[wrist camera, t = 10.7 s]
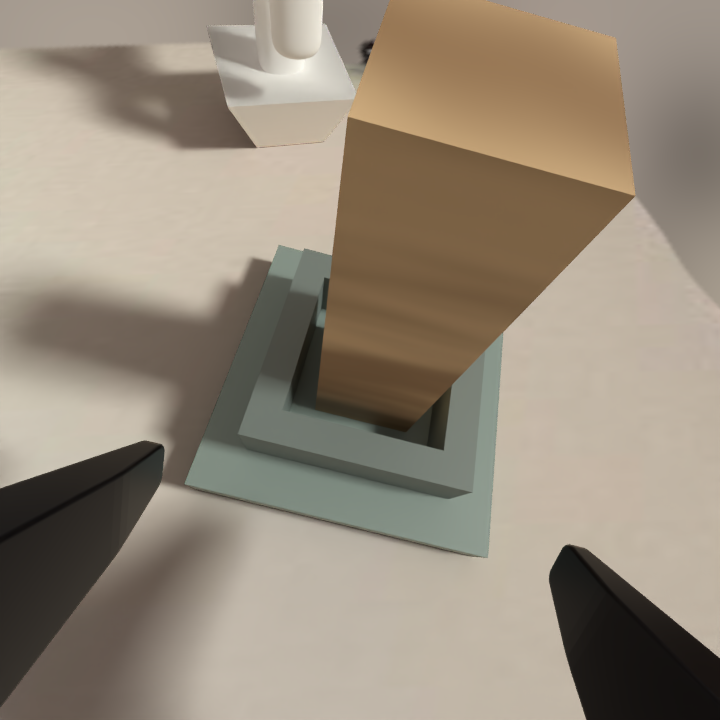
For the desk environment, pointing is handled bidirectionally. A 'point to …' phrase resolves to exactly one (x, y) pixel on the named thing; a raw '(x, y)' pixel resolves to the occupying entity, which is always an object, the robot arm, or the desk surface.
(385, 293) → the oak stick
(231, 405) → the socket holder
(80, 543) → the robot arm
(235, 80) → the figurine
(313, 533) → the desk surface
